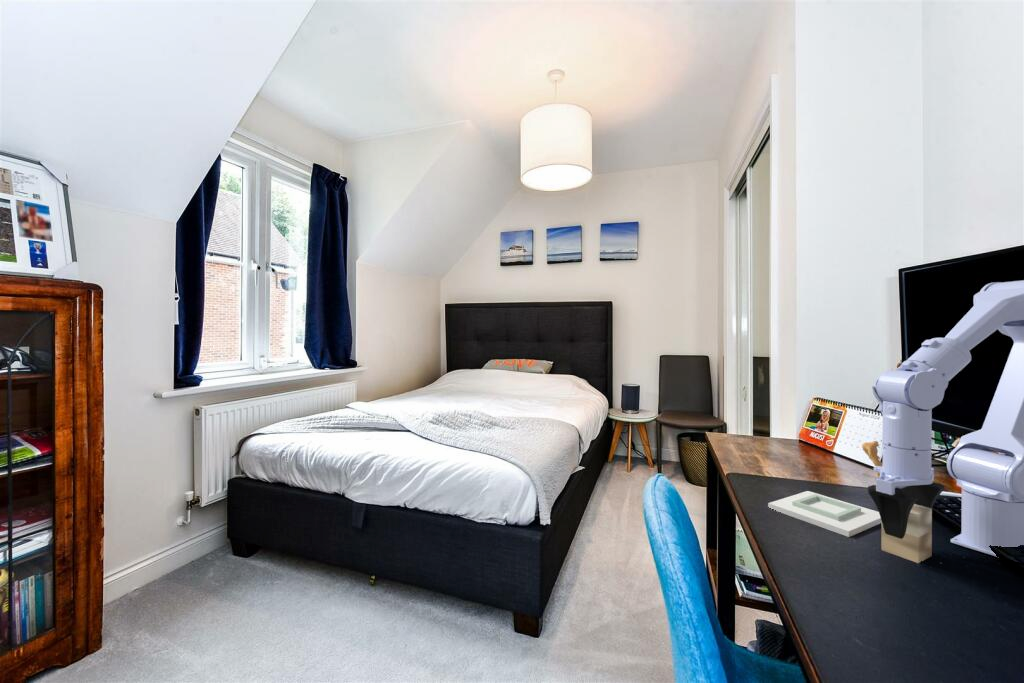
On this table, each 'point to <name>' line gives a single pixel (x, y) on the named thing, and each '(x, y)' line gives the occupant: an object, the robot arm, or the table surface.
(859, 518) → the collar board
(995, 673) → the table surface
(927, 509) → the block stack
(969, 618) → the table surface
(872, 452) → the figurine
